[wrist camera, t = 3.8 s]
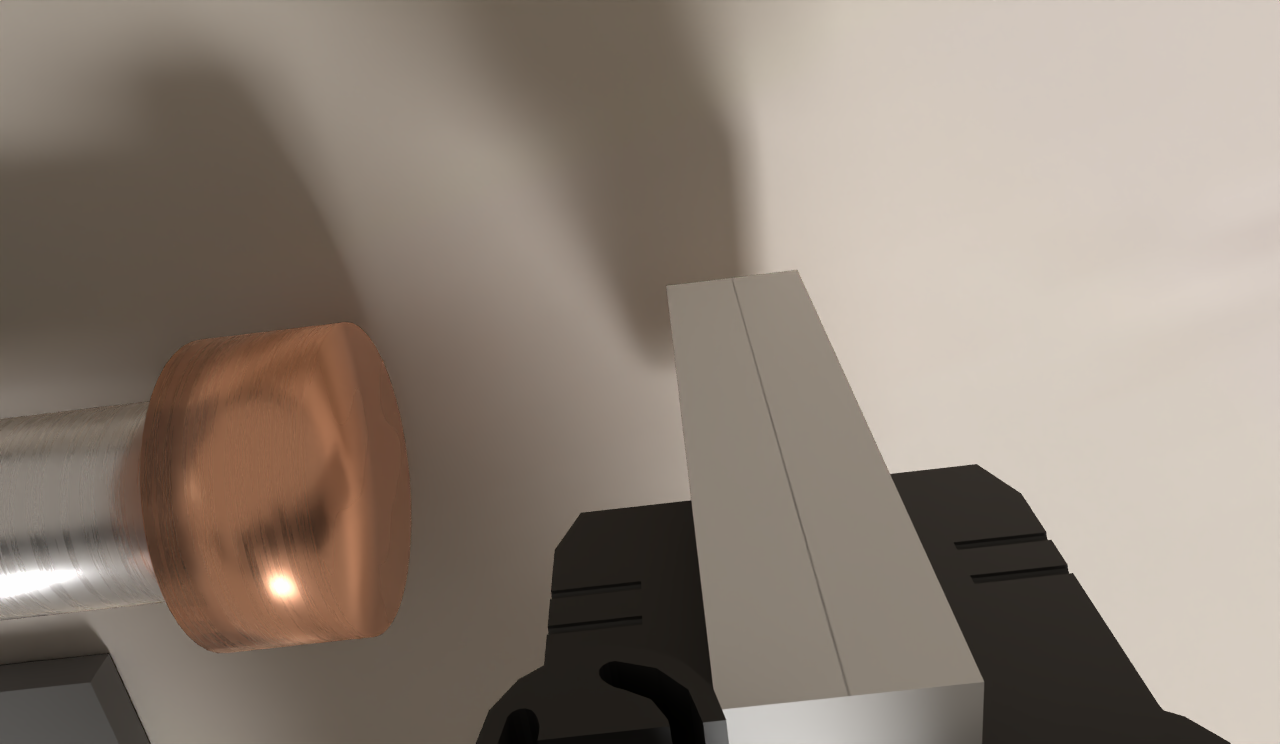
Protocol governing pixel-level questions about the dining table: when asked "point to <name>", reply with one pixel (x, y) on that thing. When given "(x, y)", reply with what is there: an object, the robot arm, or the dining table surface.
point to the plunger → (220, 495)
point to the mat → (66, 703)
